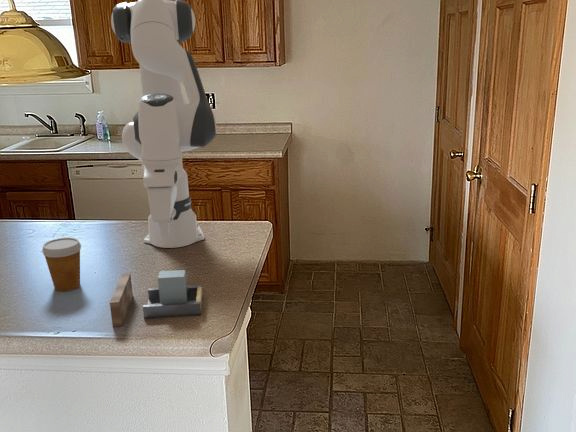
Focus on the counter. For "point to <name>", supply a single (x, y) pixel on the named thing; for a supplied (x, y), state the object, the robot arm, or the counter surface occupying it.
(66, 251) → the disposable coffee cup
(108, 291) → the counter surface
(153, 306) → the keeper
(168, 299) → the block
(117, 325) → the brown wooden board
